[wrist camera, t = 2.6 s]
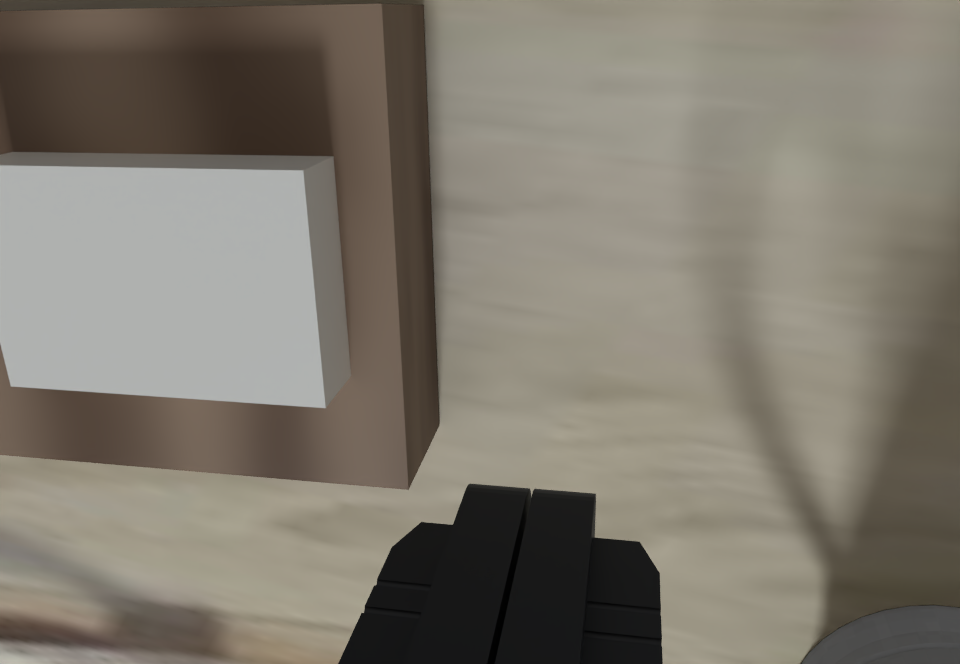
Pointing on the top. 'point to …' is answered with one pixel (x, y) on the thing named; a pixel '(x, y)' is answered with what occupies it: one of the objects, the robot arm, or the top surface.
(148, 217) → the white rectangular block
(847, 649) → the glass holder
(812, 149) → the top surface
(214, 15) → the deck
